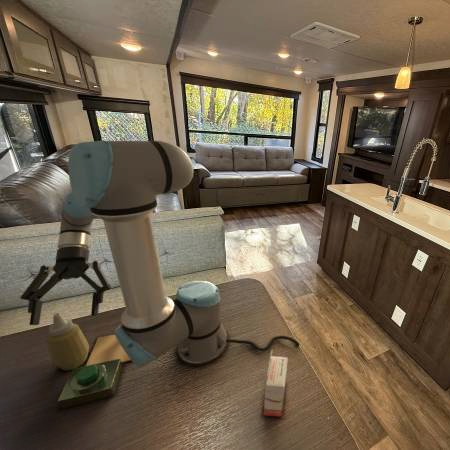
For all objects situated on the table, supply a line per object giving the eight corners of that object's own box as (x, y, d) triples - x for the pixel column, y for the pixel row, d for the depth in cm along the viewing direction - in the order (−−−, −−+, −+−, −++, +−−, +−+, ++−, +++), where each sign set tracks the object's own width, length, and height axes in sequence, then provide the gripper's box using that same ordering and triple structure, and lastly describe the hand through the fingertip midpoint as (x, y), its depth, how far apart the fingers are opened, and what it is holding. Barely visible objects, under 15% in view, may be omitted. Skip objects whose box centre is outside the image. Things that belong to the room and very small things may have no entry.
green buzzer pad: (122, 365, 73) (119, 353, 71) (113, 395, 65) (109, 382, 63) (76, 375, 69) (71, 363, 67) (60, 408, 61) (54, 396, 59)
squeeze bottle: (71, 377, 68) (51, 329, 61) (47, 370, 70) (25, 322, 63) (98, 353, 76) (84, 307, 69) (77, 347, 77) (60, 301, 70)
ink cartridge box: (282, 417, 64) (286, 379, 58) (263, 415, 64) (265, 378, 58) (285, 385, 72) (288, 349, 66) (268, 383, 72) (270, 347, 66)
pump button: (100, 368, 67) (98, 363, 66) (95, 382, 64) (93, 377, 63) (82, 372, 66) (80, 367, 65) (76, 387, 62) (73, 381, 61)
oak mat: (140, 330, 85) (140, 329, 85) (133, 360, 75) (132, 359, 75) (98, 338, 81) (98, 337, 80) (84, 371, 70) (83, 370, 70)
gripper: (124, 248, 85) (121, 312, 78) (29, 256, 76) (16, 328, 69) (117, 241, 78) (113, 311, 72) (11, 249, 70) (-5, 329, 63)
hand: (65, 320), depth 70 cm, fingers open, 13 cm apart
